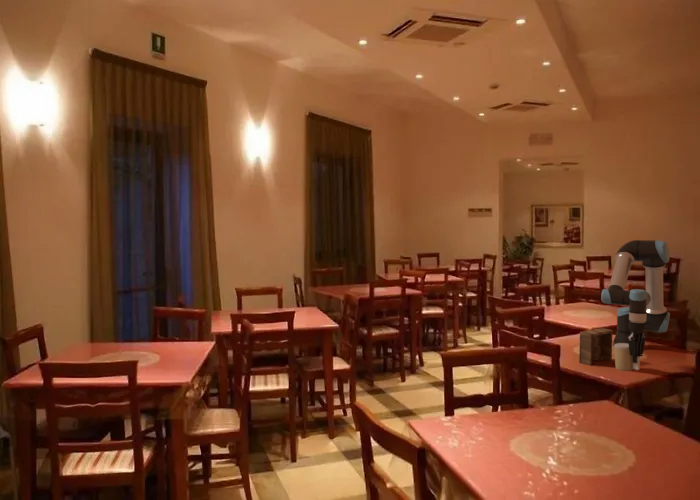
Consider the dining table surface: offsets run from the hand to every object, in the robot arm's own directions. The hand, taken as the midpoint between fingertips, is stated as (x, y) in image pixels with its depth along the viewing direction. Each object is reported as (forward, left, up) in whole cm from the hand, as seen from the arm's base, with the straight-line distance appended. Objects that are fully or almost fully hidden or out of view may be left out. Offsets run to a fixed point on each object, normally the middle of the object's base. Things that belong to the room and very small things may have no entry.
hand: (636, 369), depth 271 cm
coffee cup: (0, -6, -2) cm, 6 cm away
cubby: (0, -22, -1) cm, 22 cm away
